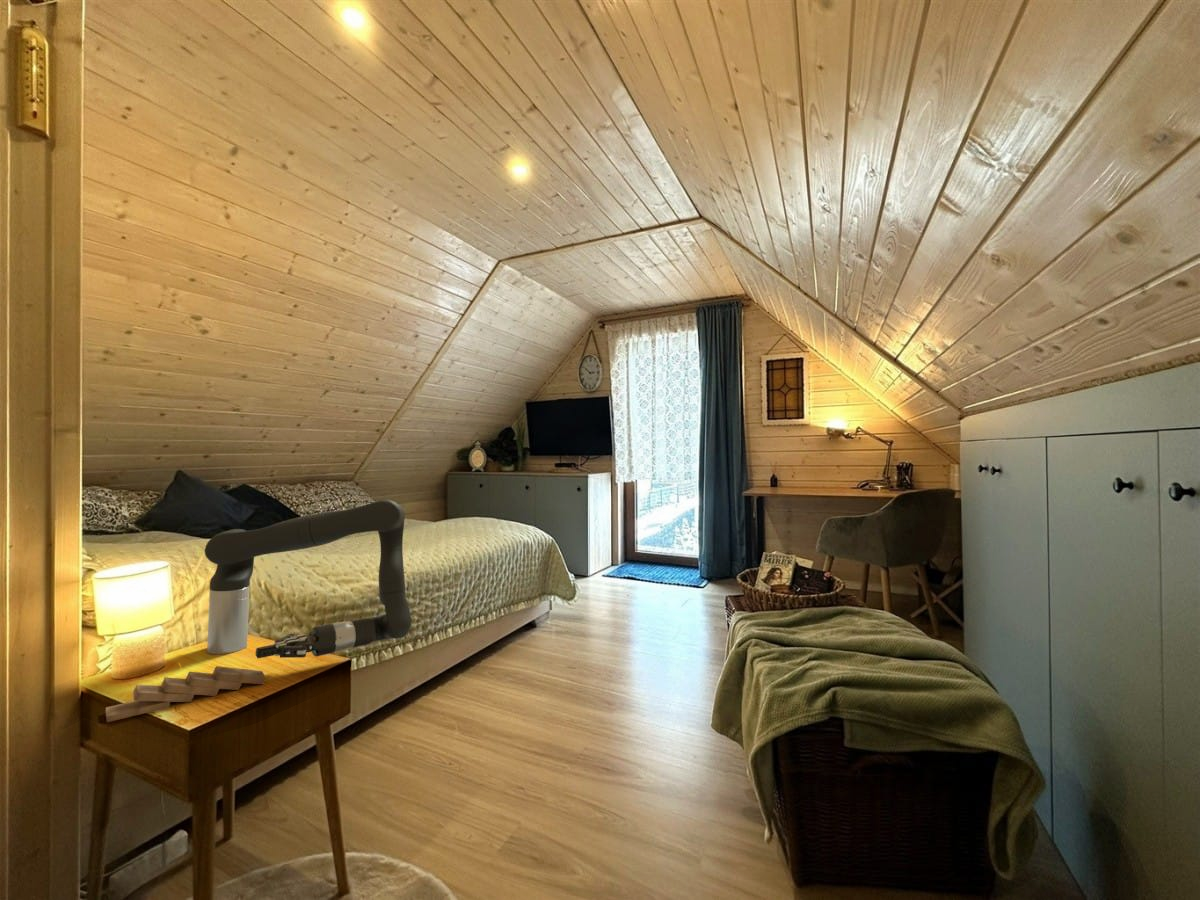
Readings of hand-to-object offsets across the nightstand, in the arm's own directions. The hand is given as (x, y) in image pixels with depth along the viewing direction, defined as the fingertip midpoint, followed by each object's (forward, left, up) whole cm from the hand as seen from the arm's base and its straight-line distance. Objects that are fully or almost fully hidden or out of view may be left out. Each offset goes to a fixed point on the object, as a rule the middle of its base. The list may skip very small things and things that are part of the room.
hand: (256, 653), depth 127 cm
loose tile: (0, +2, -6) cm, 6 cm away
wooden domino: (0, -12, -6) cm, 14 cm away
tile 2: (0, -4, -6) cm, 7 cm away
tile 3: (0, -8, -6) cm, 10 cm away
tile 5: (0, -16, -7) cm, 18 cm away
